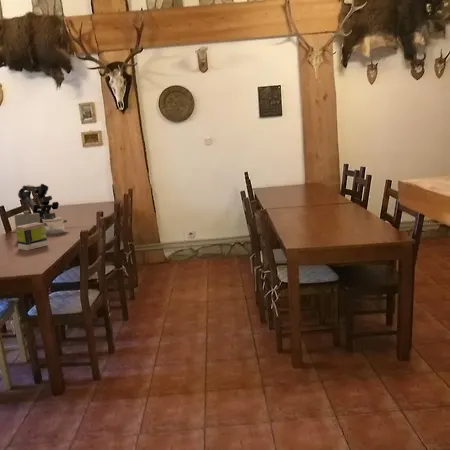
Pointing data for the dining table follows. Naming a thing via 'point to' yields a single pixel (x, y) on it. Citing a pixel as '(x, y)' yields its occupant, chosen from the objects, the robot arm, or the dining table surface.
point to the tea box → (31, 236)
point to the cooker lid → (51, 217)
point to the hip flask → (26, 218)
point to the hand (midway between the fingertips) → (49, 215)
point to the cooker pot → (55, 227)
